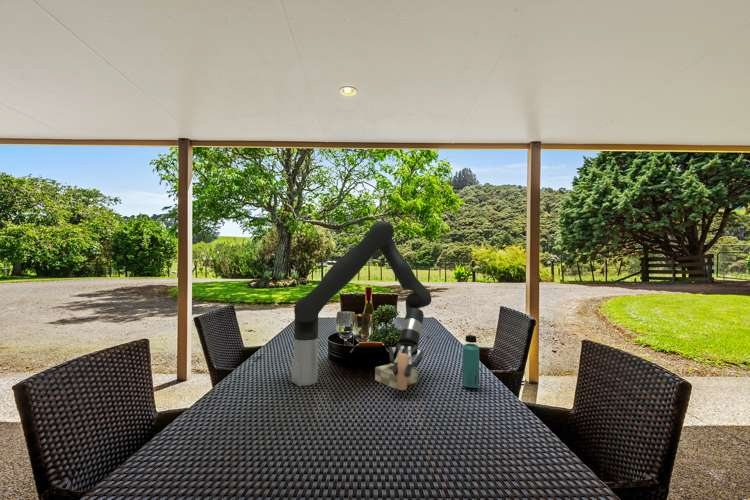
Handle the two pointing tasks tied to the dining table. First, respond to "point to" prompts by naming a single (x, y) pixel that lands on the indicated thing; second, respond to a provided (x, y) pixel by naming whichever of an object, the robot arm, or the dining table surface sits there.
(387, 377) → the socket
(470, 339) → the beverage bottle
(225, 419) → the dining table surface
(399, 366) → the peg
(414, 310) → the robot arm
